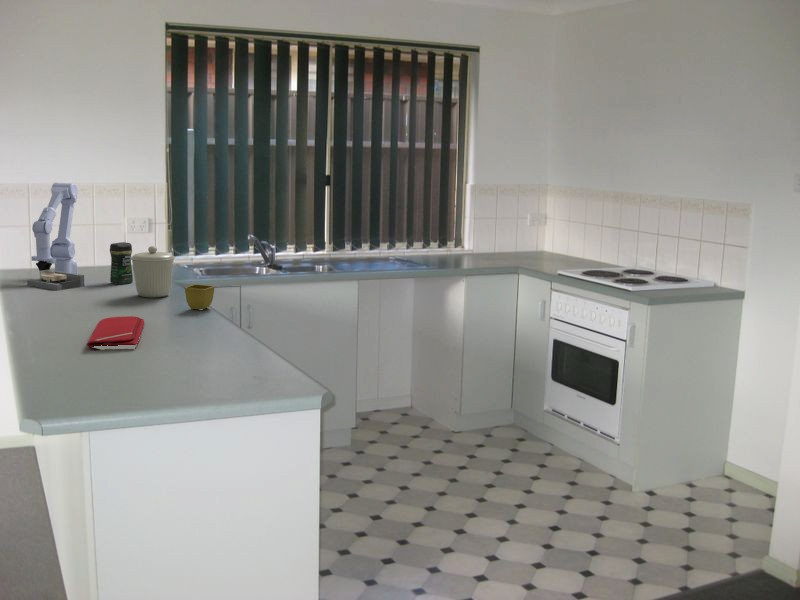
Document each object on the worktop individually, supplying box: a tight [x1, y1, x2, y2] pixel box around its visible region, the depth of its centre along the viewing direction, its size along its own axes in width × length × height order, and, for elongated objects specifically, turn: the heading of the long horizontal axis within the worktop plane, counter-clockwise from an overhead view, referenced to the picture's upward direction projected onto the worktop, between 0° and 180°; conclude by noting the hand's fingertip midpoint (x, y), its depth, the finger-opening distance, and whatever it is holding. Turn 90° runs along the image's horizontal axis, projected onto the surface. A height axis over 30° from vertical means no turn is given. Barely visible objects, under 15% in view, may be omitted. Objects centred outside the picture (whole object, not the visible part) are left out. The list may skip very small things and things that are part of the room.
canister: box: [130, 245, 176, 299], centre depth 373 cm, size 18×18×21 cm
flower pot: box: [184, 283, 215, 310], centre depth 349 cm, size 9×9×9 cm
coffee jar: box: [109, 241, 134, 285], centre depth 401 cm, size 10×8×19 cm
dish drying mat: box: [86, 315, 145, 348], centre depth 302 cm, size 16×41×4 cm, turn 12°
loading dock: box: [26, 271, 85, 291], centre depth 392 cm, size 14×20×6 cm
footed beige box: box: [39, 268, 67, 283], centre depth 392 cm, size 8×9×5 cm
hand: (44, 278), depth 396 cm, fingers closed
